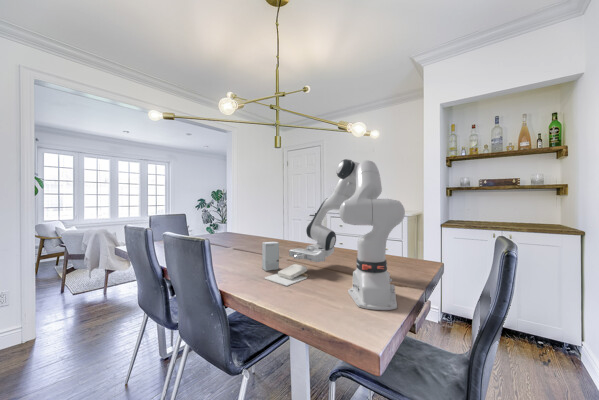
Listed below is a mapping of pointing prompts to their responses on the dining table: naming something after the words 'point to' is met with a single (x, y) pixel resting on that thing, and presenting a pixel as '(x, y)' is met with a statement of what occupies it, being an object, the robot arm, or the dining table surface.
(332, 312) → the dining table surface
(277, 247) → the skincare box
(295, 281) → the mat
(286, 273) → the tile
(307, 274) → the rail
